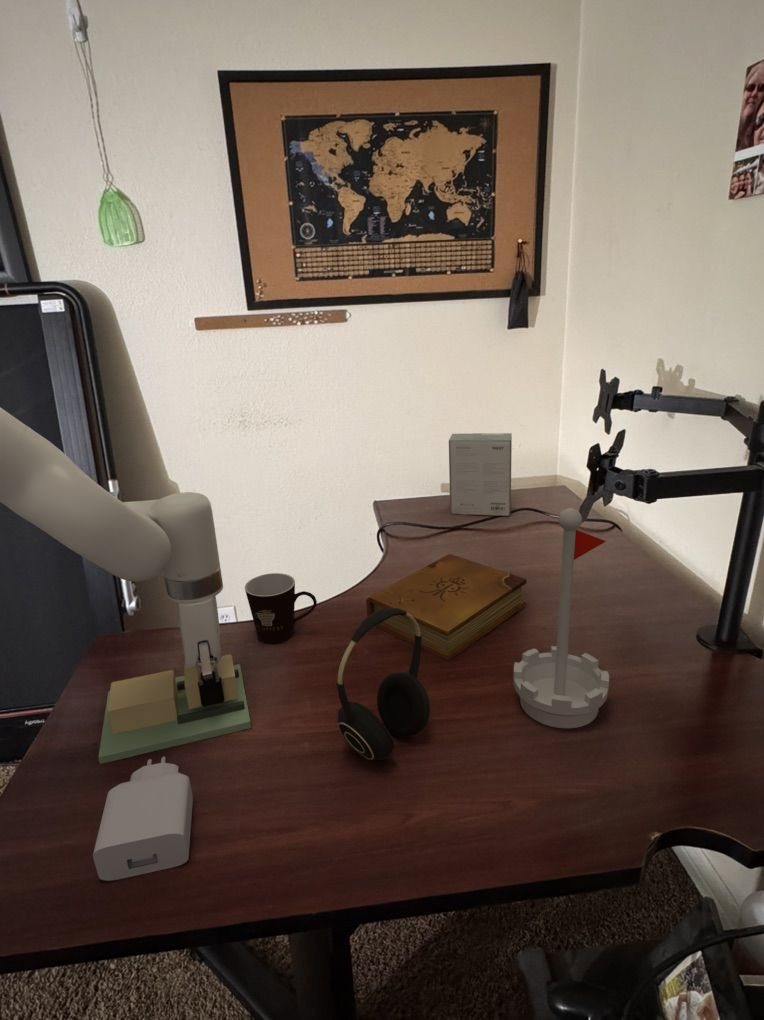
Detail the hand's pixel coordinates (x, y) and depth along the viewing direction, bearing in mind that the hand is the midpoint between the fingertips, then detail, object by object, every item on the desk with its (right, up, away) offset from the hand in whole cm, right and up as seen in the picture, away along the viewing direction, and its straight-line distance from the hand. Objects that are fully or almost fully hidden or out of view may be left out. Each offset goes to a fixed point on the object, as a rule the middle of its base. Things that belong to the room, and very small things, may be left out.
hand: (211, 688), depth 93 cm
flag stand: (+51, -2, -2) cm, 51 cm away
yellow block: (0, -1, 0) cm, 1 cm away
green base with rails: (-5, -3, 0) cm, 6 cm away
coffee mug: (+8, +4, +18) cm, 20 cm away
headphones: (+26, -5, -8) cm, 28 cm away
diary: (+37, +7, +22) cm, 44 cm away
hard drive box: (+51, +26, +71) cm, 92 cm away
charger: (-2, -10, -19) cm, 21 cm away
